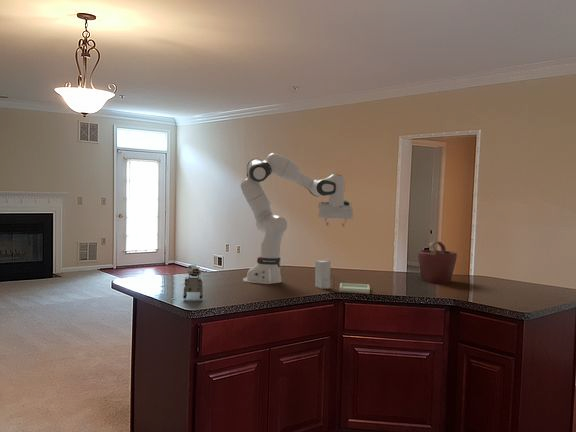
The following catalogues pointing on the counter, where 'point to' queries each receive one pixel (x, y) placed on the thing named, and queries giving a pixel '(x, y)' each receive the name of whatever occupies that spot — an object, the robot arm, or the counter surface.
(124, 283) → the counter surface
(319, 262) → the skincare box
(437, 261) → the bucket
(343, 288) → the sage tray
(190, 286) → the figurine
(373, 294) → the counter surface
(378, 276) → the counter surface
